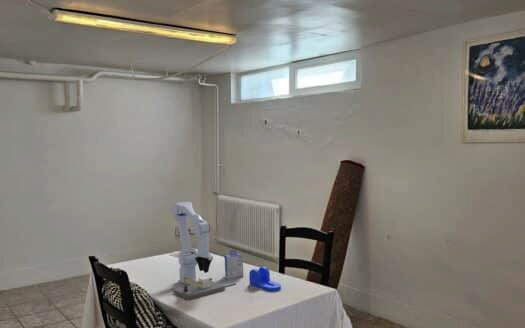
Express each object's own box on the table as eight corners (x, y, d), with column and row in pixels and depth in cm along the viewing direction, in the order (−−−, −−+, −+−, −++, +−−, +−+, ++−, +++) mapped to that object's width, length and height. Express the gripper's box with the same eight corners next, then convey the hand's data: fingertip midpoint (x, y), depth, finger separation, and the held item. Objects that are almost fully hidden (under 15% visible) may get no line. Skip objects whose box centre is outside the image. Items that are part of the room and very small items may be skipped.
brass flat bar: (186, 289, 239) (186, 277, 239) (204, 296, 229) (203, 283, 229) (183, 290, 238) (182, 278, 238) (200, 297, 228) (200, 284, 227)
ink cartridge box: (240, 273, 273) (240, 249, 272) (244, 276, 268) (243, 251, 267) (224, 276, 269) (223, 251, 269) (227, 278, 264) (226, 253, 264)
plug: (198, 290, 245) (197, 278, 245) (209, 287, 250) (208, 275, 249) (203, 292, 242) (202, 279, 242) (214, 289, 246) (213, 277, 246)
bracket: (249, 285, 253) (249, 268, 252) (261, 281, 258) (260, 265, 258) (272, 292, 239) (272, 275, 239) (284, 289, 245) (283, 272, 244)
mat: (212, 284, 255) (212, 283, 255) (225, 280, 261) (225, 279, 261) (221, 288, 248) (221, 287, 248) (235, 284, 254) (235, 283, 254)
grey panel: (173, 293, 241) (173, 288, 241) (209, 283, 256) (209, 279, 255) (188, 300, 231) (188, 295, 231) (225, 289, 245) (224, 285, 245)
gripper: (189, 244, 247) (189, 270, 247) (204, 249, 236) (205, 276, 236) (200, 242, 251) (201, 267, 252) (216, 246, 240) (216, 273, 241)
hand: (203, 271), depth 245 cm, fingers open, 4 cm apart
